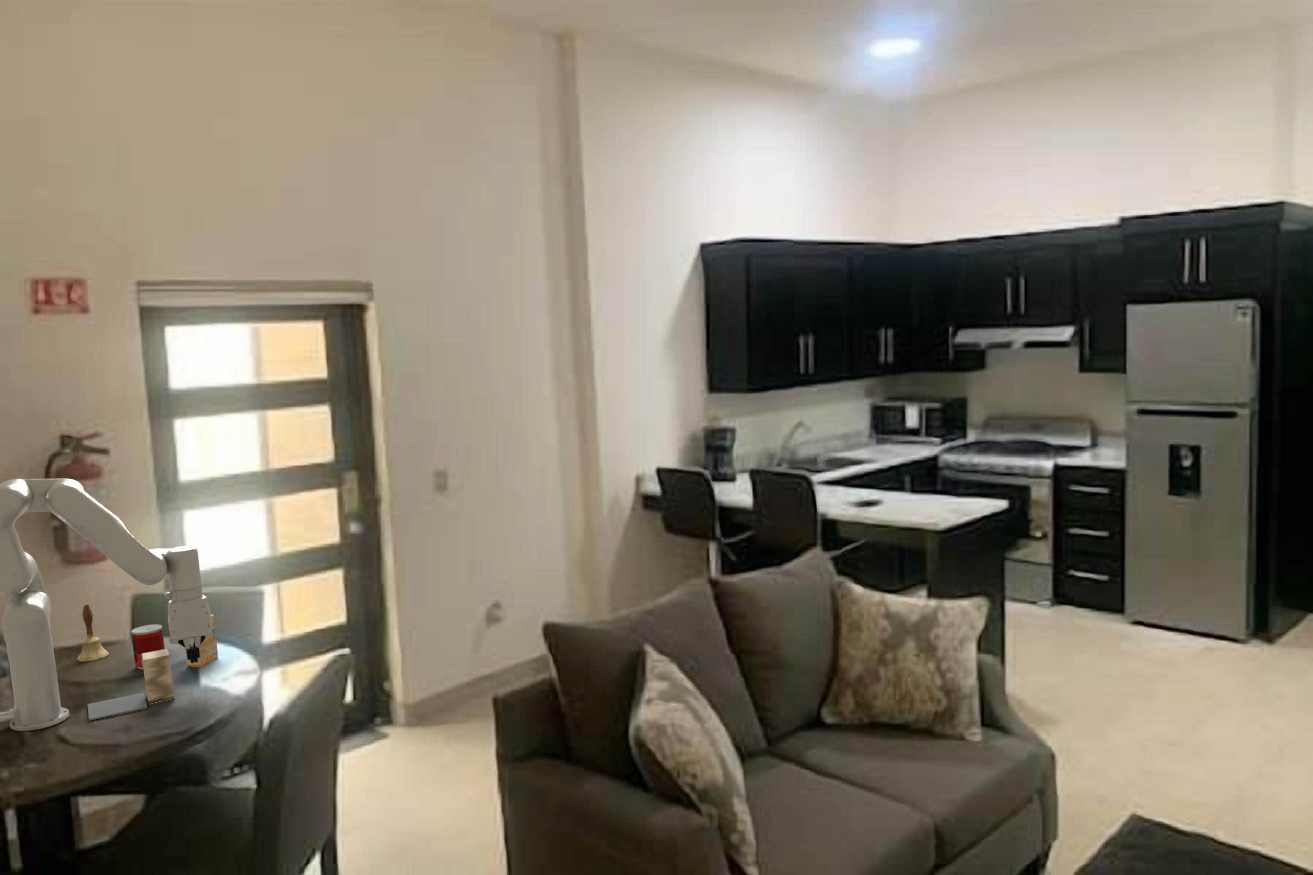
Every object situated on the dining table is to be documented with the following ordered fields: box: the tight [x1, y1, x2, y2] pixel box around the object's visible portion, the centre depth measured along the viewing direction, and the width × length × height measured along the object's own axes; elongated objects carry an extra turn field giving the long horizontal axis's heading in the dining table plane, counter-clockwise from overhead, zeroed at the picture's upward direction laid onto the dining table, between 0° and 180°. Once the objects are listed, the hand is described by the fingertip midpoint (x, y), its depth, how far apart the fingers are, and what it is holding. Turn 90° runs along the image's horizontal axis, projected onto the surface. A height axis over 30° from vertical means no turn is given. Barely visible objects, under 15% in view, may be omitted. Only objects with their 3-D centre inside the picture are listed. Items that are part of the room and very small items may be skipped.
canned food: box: [130, 623, 166, 668], centre depth 292 cm, size 8×8×11 cm
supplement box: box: [184, 614, 219, 668], centre depth 292 cm, size 8×5×13 cm, turn 168°
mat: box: [87, 692, 148, 722], centre depth 261 cm, size 13×12×1 cm
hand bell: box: [76, 603, 110, 663], centre depth 302 cm, size 8×8×16 cm
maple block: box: [142, 648, 175, 705], centre depth 265 cm, size 6×6×12 cm
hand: (194, 661), depth 269 cm, fingers closed
